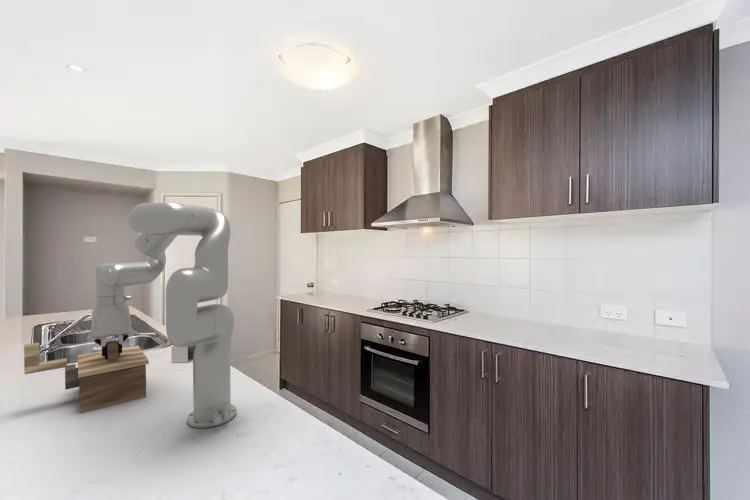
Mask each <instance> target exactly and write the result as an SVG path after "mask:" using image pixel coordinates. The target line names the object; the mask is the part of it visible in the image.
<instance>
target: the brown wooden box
mask: <svg viewBox="0 0 750 500" xmlns="http://www.w3.org/2000/svg"><path fill="white" fill-rule="evenodd" d="M76 365H77V364H76V363H72V364H67V367H65V368H64V370H65V371H64V382H65V383H64V385H65V386H64V387H65V388H64V390H65V391H66V390H71V389H75V388H78V391H79V413H81V414H82V413H85V412H90V411H94V410H98V409H102V408H106V407H111V406H114V405H118V404H123V403H127V402H131V401H136V400H138V399H143V398H146V397H147V365H141V366H136V367H131V368H126V369H121V370H116V371H111V372H106V373H101V374H96V375H91V376H85V377H80V378H78V367H76Z"/></svg>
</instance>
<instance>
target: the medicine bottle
mask: <svg viewBox="0 0 750 500" xmlns="http://www.w3.org/2000/svg"><path fill="white" fill-rule="evenodd" d="M196 346H197V344H196V345H193V346H189V347H185V348H179V347H176V346H174V345H173V344H171V363H173V364H174V363H175V364H176V363H177V364H179V363H180V364H181V363H182V364H185V363H187V364H188V363H191V362H193V356H194V351H195V348H196Z"/></svg>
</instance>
